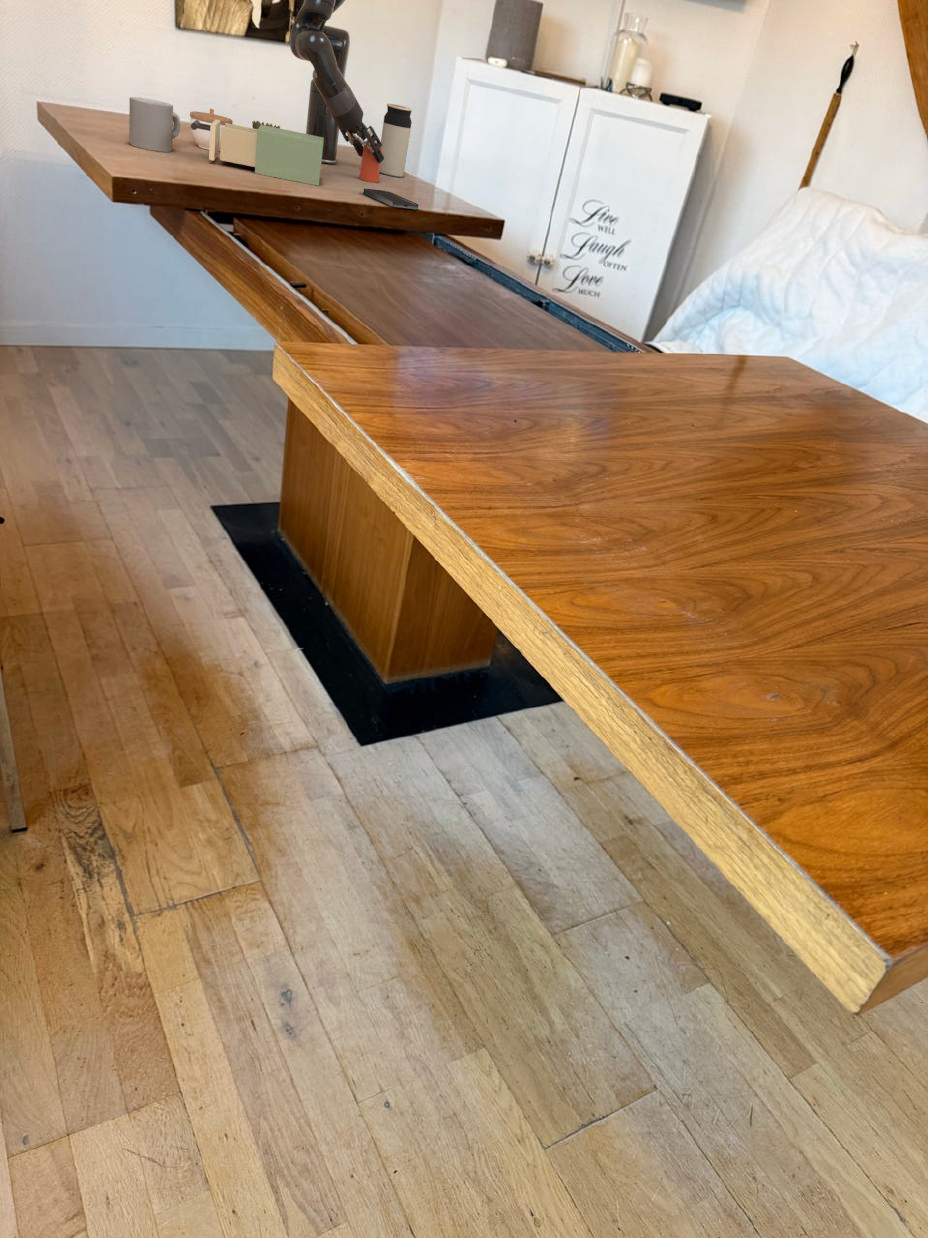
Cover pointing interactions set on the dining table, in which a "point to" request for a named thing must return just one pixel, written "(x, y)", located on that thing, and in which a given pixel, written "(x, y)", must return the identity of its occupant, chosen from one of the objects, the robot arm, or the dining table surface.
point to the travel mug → (395, 140)
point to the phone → (390, 199)
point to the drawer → (231, 142)
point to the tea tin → (369, 166)
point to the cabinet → (288, 155)
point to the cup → (257, 124)
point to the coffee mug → (152, 124)
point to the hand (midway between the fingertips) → (371, 157)
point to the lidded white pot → (203, 135)
